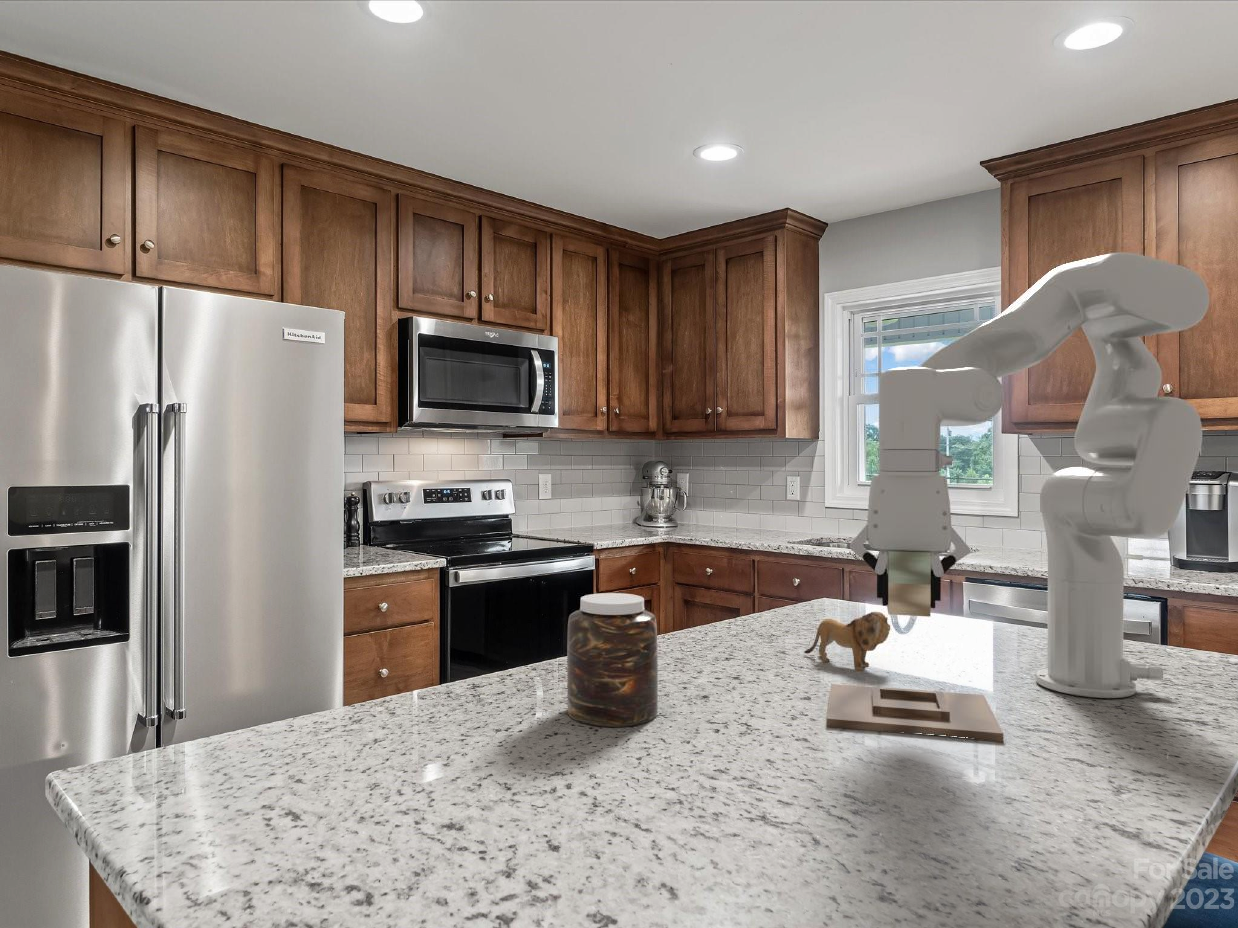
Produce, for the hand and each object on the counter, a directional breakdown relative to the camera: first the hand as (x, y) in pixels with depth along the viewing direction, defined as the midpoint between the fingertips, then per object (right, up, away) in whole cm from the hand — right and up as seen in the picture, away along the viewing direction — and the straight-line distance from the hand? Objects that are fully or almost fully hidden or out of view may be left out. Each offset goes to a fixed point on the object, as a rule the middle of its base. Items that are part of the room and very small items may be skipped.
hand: (908, 603), depth 107 cm
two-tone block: (0, -1, 0) cm, 1 cm away
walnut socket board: (0, -14, 0) cm, 14 cm away
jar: (-38, -15, +1) cm, 41 cm away
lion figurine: (0, -14, +26) cm, 30 cm away
